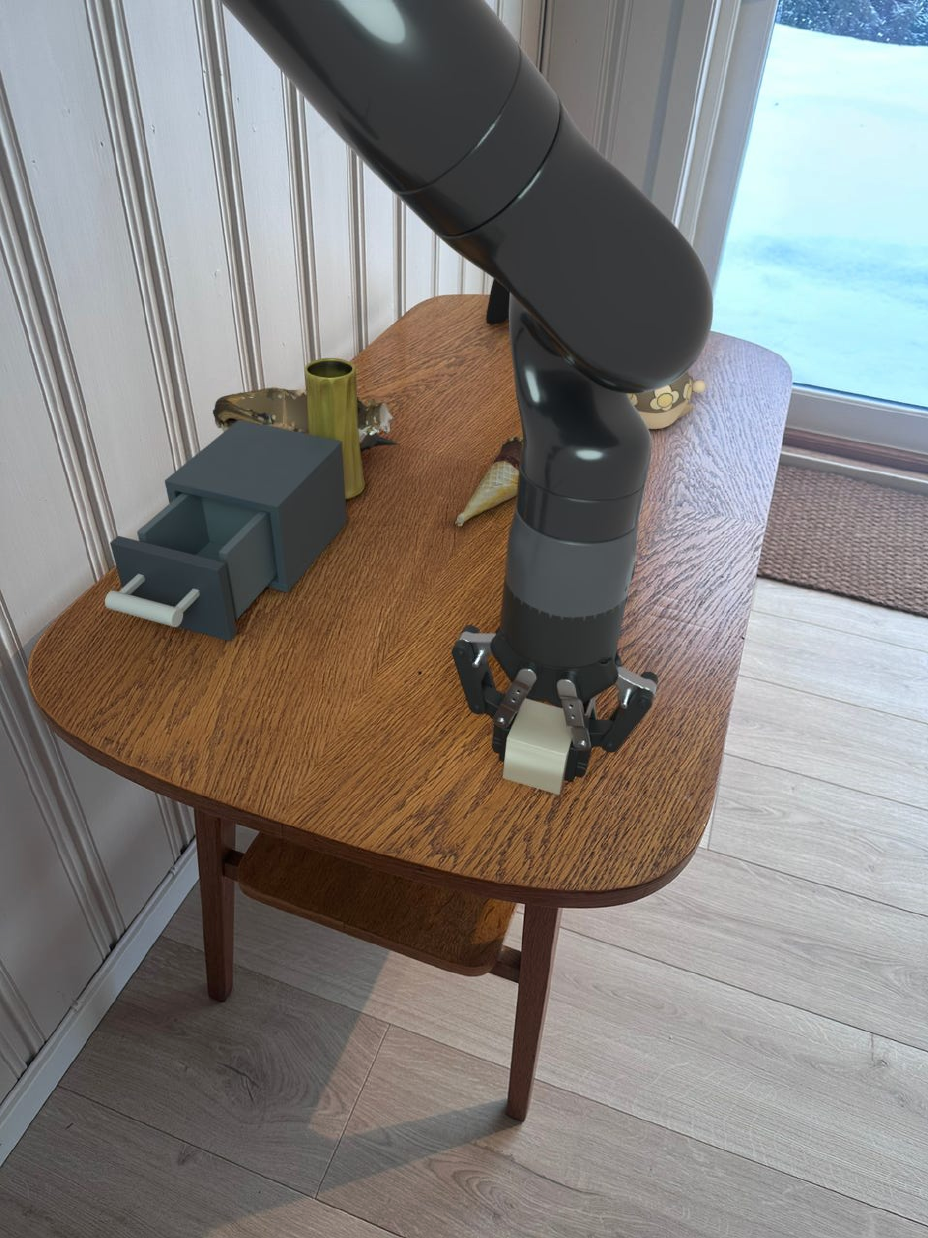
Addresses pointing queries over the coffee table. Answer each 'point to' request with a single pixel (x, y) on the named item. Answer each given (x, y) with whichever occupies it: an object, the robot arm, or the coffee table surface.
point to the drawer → (195, 565)
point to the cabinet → (274, 488)
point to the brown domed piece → (667, 401)
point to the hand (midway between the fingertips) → (539, 763)
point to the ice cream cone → (496, 481)
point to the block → (538, 747)
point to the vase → (336, 413)
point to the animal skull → (297, 413)
